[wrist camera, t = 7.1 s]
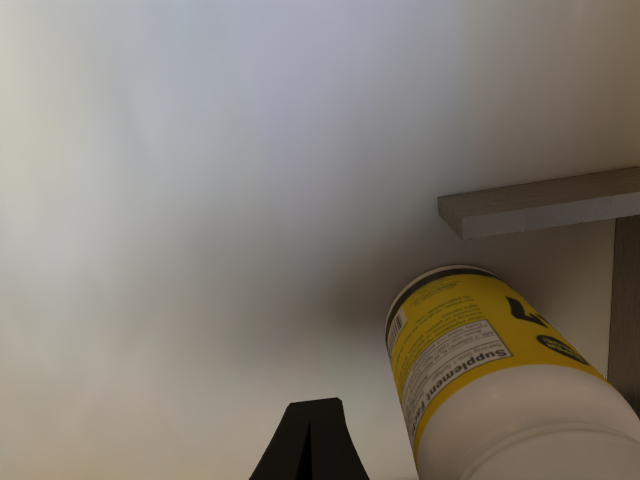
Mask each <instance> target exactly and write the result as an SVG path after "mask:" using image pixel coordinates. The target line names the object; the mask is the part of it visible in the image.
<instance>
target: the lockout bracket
mask: <svg viewBox="0 0 640 480" xmlns="http://www.w3.org/2000/svg"><path fill="white" fill-rule="evenodd" d="M438 207H439V216H440V217H441V218H442V219H443V220H444V221H445V222H446V223H447V224H448V225H449V226H450V227H451V228H452V229H453V230H454V231H455V232H456V233H457V234H458V235H459V236H460V237H461V238H462V240H469V239H476V238H482V237H489V236H496V235H503V234H510V233H516V232H523V231H530V230H537V229H544V228H551V227H557V226H564V225H571V224H578V223H585V222H591V221H598V220H605V219H612V218H616V235H615V254H614V272H613V291H612V310H611V329H610V347H609V366H608V382H609V383H610V384H611V385H612V386H613V387H614V388H615V389H616V390H617V391H618V392H619V393H620V394H621V395H622V396H623V398H624V399H625V400H626V401H627V403H628V404H629V405H630V406H631V408H632V409H633V411H634V412H635V414H636V415H637V417H638V418H639V420H640V167H633V168H626V169H620V170H613V171H607V172H600V173H594V174H587V175H581V176H574V177H568V178H561V179H554V180H548V181H541V182H535V183H528V184H522V185H515V186H509V187H502V188H496V189H489V190H483V191H476V192H470V193H463V194H457V195H450V196H444V197H438Z"/></svg>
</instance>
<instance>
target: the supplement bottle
mask: <svg viewBox="0 0 640 480" xmlns="http://www.w3.org/2000/svg"><path fill="white" fill-rule="evenodd" d="M385 341H386V347H387V351H388V355H389V359H390V363H391V368H392V372H393V375H394V380H395V384H396V388H397V392H398V396H399V400H400V404H401V408H402V412H403V416H404V420H405V424H406V428H407V432H408V436H409V440H410V444H411V448H412V452H413V457H414V461H415V465H416V470H417V473H418V476H419V480H640V420H639V418H638V417H637V415H636V414H635V412H634V411H633V409H632V408H631V406H630V405H629V404H628V403H627V401H626V400H625V399H624V398H623V396H622V395H621V394H620V393H619V392H618V391H617V390H616V389H615V388H614V387H613V386H612V385H611V384H610V383H609V382H608V381H607V380H606V379H605V378H604V377H603V376H602V375H601V374H600V373H599V372H598V371H597V370H596V369H595V368H594V367H593V366H592V365H591V364H590V363H589V362H587V361H586V360H585V359H584V358H583V357H582V356H581V355H580V354H579V353H578V352H577V350H576V349H575V348H574V347H573V346H572V345H571V344H569V343H568V342H567V341H566V340H565V339H564V338H563V337H562V336H561V335H560V334H559V333H558V332H557V331H556V329H554V328H553V327H552V326H551V325H550V324H549V323H548V322H547V321H546V320H545V319H544V318H543V317H542V316H541V315H540V314H539V313H538V312H537V311H536V310H535V309H534V308H533V307H532V306H531V305H530V304H529V303H528V302H527V301H526V300H525V299H524V298H523V297H522V296H521V295H520V294H519V293H518V292H517V291H516V290H515V289H514V288H512V287H511V286H510V285H509V284H508V283H507V282H506V281H504V280H503V279H502V278H500V277H499V276H497V275H496V274H494V273H492V272H490V271H487V270H485V269H482V268H479V267H475V266H468V265H451V266H445V267H440V268H436V269H433V270H431V271H428V272H426V273H424V274H422V275H420V276H419V277H417V278H416V279H414V280H413V281H412V282H410V283H409V284H408V285H407V286H406V287H405V288H404V289H403V290H402V291H401V292H400V293H399V294H398V296H397V297H396V298H395V300H394V302H393V303H392V305H391V307H390V309H389V312H388V315H387V319H386V324H385Z"/></svg>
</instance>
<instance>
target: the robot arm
mask: <svg viewBox="0 0 640 480" xmlns="http://www.w3.org/2000/svg"><path fill="white" fill-rule="evenodd" d="M249 480H370V479H369V477H368V475H367V473H366V471H365V469H364V467H363V465H362V463H361V461H360V459H359V456H358V454H357V452H356V449H355V447H354V445H353V442H352V440H351V437H350V435H349V432H348V429H347V426H346V422H345V416H344V410H343V404H342V400H340V399H339V398H337V397H336V398H327V399H319V400H311V401H303V402H295V403H290V404H289V406H288V407H287V408H286V411H285V413H284V415H283V417H282V419H281V422H280V424H279V426H278V428H277V430H276V432H275V434H274V436H273V438H272V440H271V441H270V443H269V445H268V447H267V449H266V451H265V452H264V454H263V456H262V458H261V460H260V461H259V463H258V465H257V467H256V468H255V470H254V472H253V474H252V475H251V477H250V478H249Z"/></svg>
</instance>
